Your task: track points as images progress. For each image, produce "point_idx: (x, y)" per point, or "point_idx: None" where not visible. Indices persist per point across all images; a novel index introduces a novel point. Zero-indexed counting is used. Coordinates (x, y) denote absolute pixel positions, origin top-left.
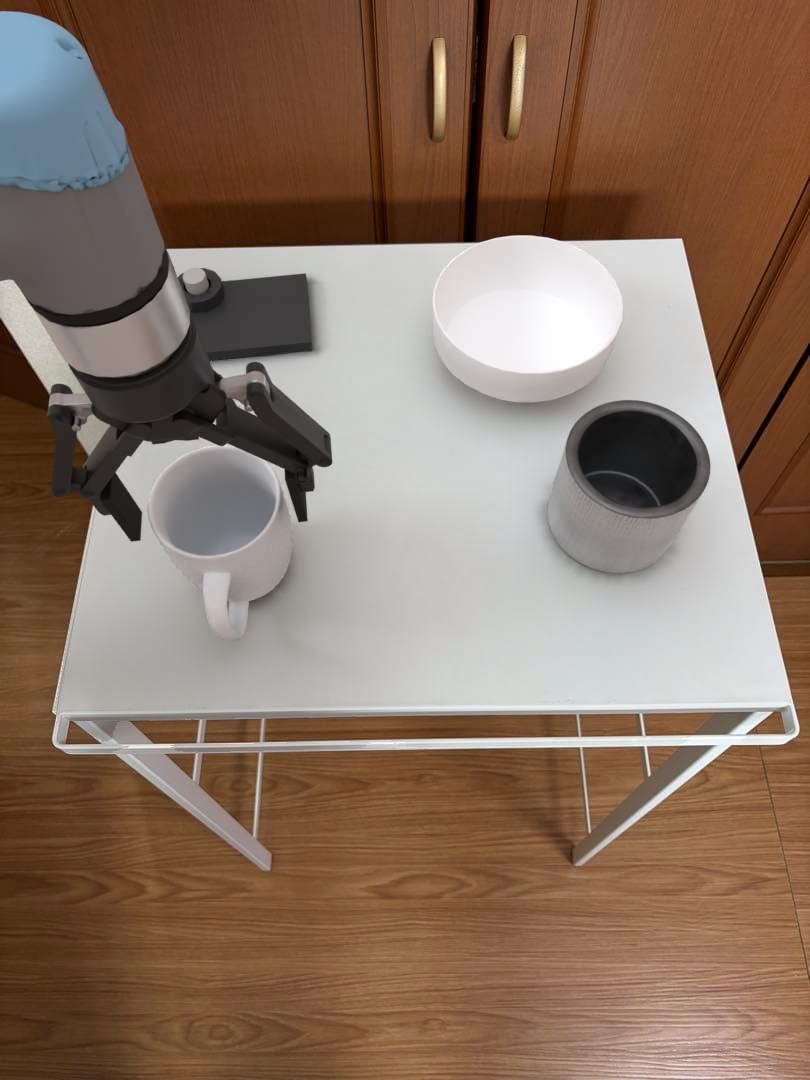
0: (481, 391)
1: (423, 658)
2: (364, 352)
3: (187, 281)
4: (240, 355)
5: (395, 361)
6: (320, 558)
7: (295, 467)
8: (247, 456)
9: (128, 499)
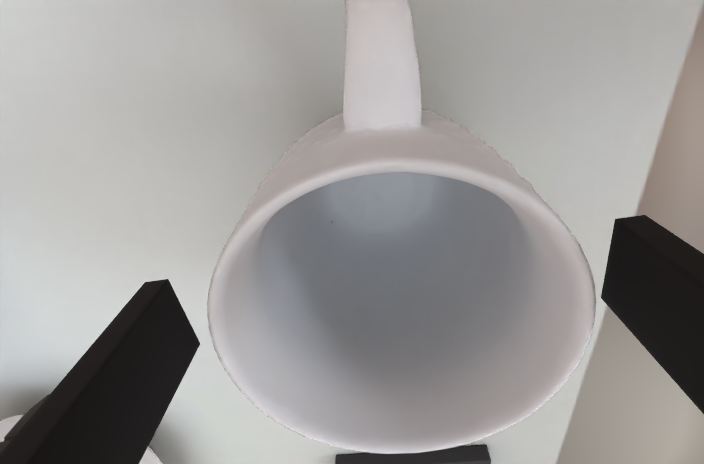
0: None
1: (36, 19)
2: (274, 452)
3: None
4: (422, 453)
5: (234, 443)
6: None
7: None
8: (333, 426)
9: (682, 362)
